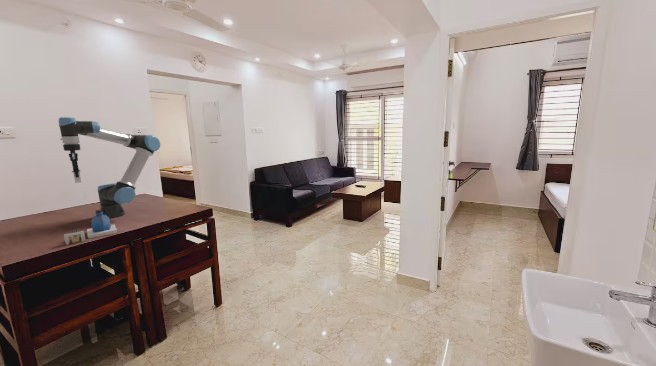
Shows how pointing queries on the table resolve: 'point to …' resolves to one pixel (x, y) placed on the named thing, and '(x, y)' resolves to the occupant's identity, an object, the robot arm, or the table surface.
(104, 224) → the perfume bottle
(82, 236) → the keeper
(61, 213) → the table surface
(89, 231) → the socket
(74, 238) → the lock bar
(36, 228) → the table surface
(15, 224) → the table surface
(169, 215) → the table surface
